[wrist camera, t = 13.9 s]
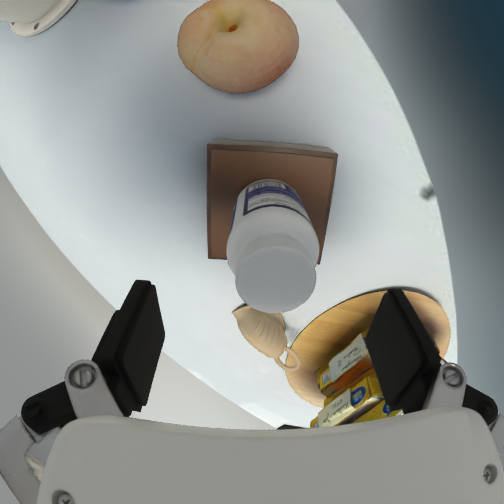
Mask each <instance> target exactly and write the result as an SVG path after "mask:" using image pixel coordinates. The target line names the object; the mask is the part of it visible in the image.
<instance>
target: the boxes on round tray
mask: <svg viewBox="0 0 504 504" xmlns="http://www.w3.org/2000/svg"><path fill="white" fill-rule="evenodd" d="M402 291H403V290H402ZM403 292H404V294H405V295H406V297H407V298H408V300H409V302H410V303H411V305H412V307H413V308H414V310H415V312H416V313H417V315H418V317H419V319H420V320H421V322H422V324H423V326H424V327H425V329H426V331H427V333H428V334H429V336H430V338H431V340H432V342H433V344H434V346H435V347H436V349H437V351H438V353H439V355H440V357H441V359H442V360H441V361H440V363H441V365H443V364H444V363H447V362H446V361H445V360H444V359H443V358H444V357H445V354H446V352H447V349H448V346H449V342H450V323H449V320H448V317H447V315H446V313H445V311H444V310H443V309H442V307H441V306H440V305H439V304H438V303H437V302H435V301H434V300H432V299H431V298H429V297H427V296H425V295H422V294H419V293H416V292H411V291H403ZM384 293H387V291H379V292H374V293H370V294H365V295H362V296H359V297H356V298H353V299H350V300H348V301H345V302H343V303H341V304H339V305H337V306H335V307H333V308H331V309H330V310H328V311H326V312H325V313H323V314H322V315H320V316H319V317H318V318H316V319H315V320H314V321H313V322H311V323H310V324H309V325H308V326H307V327H306V328H305V329H304V330H303V331H302V332H301V333H300V335H299V336H298V337H297V338H296V340H295V341H294V343H293V345H292V346H291V349H293V350H294V351H295V352H296V353H297V354H298V356H299V358H300V362H301V364H300V367H299V368H298V369H297V370H295V371H287V370H286V376H287V379H288V382H289V384H290V386H291V387H292V389H293V390H294V391H295V393H296V394H297V395H298V396H300V397H301V398H302V399H304V400H305V401H306V402H308V403H310V404H312V405H314V406H317V407H320V408H323V409H322V410H321V411H320V412H319V413H318V416H317V417H316V418H315V419H313V420H312V421H311V423H310V428H318V427H329V426H338V425H346V424H354V423H360V422H367V421H373V420H378V419H384V418H389V417H394V416H399V415H403V410H402V409H401V410H396V411H392V412H391V411H390V407H389V406H387V405H386V403H385V400H384V397H383V394H382V391H381V388H380V384H379V381H378V378H377V375H376V372H375V369H374V367H373V364H372V361H371V358H370V355H369V352H368V349H367V347H366V344H365V337H366V335H367V332H368V330H369V328H370V326H371V323H372V321H373V319H374V316H375V314H376V312H377V309H378V307H379V304H380V302H381V299H382V297H383V295H384ZM295 365H296V359H295V358H294V356H293V355H292V354H290V353H288V356H287V360H286V366H288V367H294V366H295Z"/></svg>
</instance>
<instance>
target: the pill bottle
mask: <svg viewBox="0 0 504 504" xmlns="http://www.w3.org/2000/svg"><path fill="white" fill-rule="evenodd" d="M226 253H227V260H228V264H229V267H230V269H231V271H232V272H233V274H234V275H235V277H236V279H235V280H236V288H237V291H238V294H239V295H240V297H241V298H242V300H243V301H244V302H245V303H246V304H248V305H249V306H250V307H252V308H254V309H256V310H259V311H262V312H266V313H282V312H287V311H290V310H293V309H295V308H297V307H299V306H300V305H302V304H303V303H304V302H305V301H306V300H307V299H308V298H309V297H310V296H311V294H312V292H313V290H314V288H315V284H316V271H315V267H316V264H317V261H318V258H319V242H318V238H317V235H316V232H315V230H314V228H313V226H312V224H311V221H310V219H309V217H308V215H307V212H306V210H305V208H304V206H303V203H302V201H301V199H300V197H299V195H298V194H297V193H296V191H295V190H294V189H293V188H292V187H291V186H289V185H288V184H286V183H284V182H282V181H279V180H274V179H263V180H258V181H256V182H253V183H251V184H250V185H248V186H247V187H246V188H245V189H243V191H242V192H241V193H240V194H239V196H238V198H237V200H236V203H235V206H234V210H233V215H232V220H231V226H230V231H229V236H228V240H227V251H226Z"/></svg>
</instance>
